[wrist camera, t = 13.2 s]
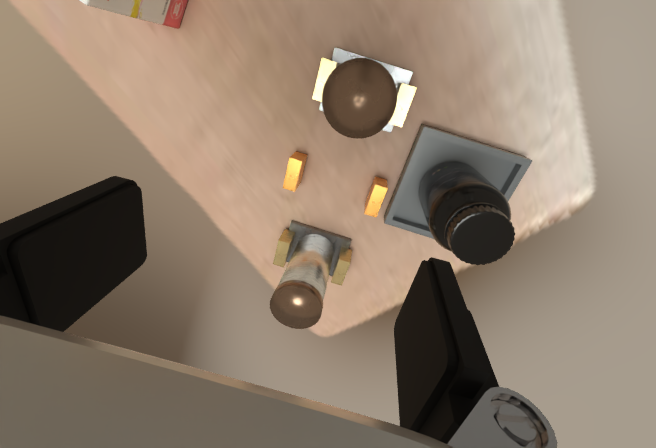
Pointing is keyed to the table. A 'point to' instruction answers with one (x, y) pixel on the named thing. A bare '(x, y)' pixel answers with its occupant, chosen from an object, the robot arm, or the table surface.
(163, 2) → the ink cartridge box
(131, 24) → the table surface
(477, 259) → the supplement bottle
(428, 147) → the tray
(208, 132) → the table surface
